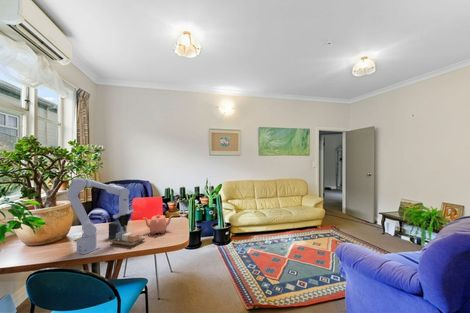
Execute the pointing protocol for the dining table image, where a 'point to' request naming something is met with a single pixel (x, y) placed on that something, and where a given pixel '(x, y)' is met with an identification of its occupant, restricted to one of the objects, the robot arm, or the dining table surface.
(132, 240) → the button terracotta
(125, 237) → the button cream
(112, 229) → the small box
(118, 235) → the button slate
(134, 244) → the brown tray
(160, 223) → the teapot
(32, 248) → the dining table surface
